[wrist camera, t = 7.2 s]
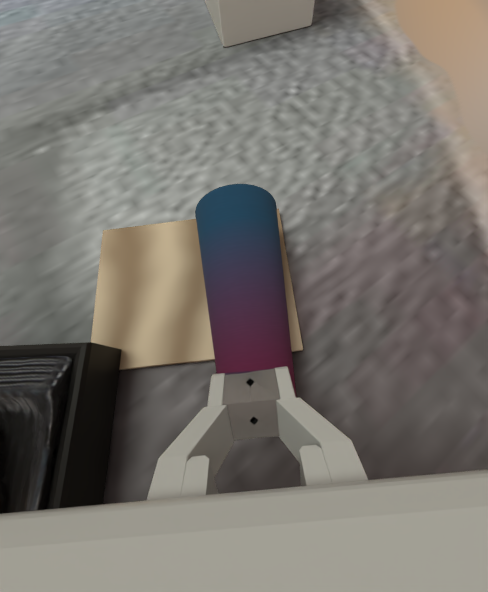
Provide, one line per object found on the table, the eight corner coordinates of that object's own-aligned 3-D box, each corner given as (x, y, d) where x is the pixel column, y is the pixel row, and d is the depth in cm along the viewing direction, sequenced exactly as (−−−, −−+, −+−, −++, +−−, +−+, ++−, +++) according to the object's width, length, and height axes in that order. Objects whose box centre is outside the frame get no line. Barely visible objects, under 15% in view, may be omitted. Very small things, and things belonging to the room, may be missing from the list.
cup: (211, 405, 20) (200, 237, 25) (296, 394, 21) (270, 232, 25) (201, 416, 14) (189, 186, 18) (326, 400, 14) (283, 180, 19)
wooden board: (93, 372, 22) (87, 372, 21) (107, 234, 27) (103, 230, 26) (301, 350, 22) (303, 349, 21) (278, 213, 26) (278, 208, 26)
